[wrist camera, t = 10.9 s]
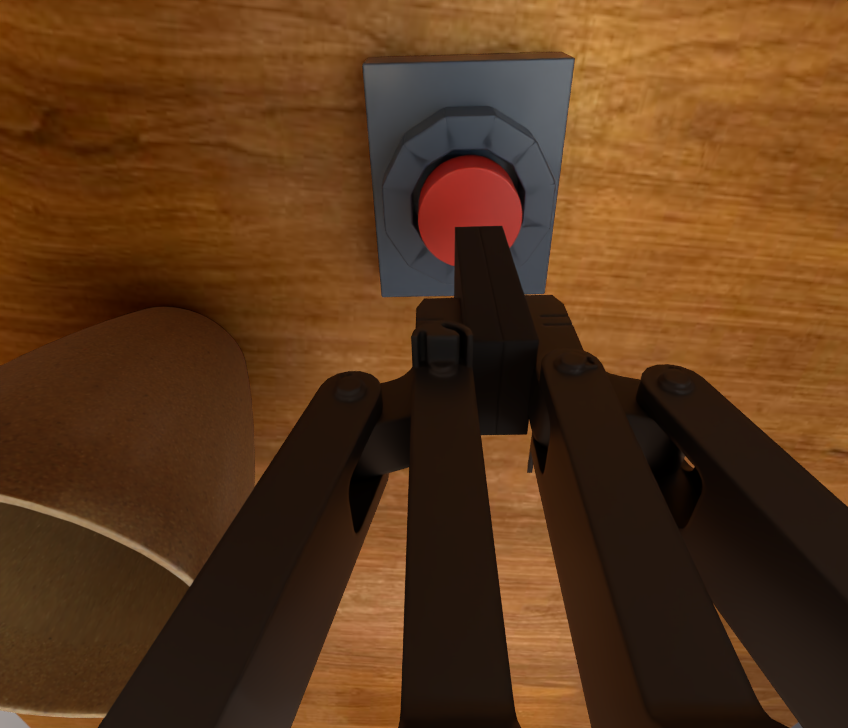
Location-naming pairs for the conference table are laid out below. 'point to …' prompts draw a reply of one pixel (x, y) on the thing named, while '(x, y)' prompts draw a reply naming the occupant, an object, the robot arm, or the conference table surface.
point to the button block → (463, 151)
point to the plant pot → (112, 497)
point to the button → (466, 202)
